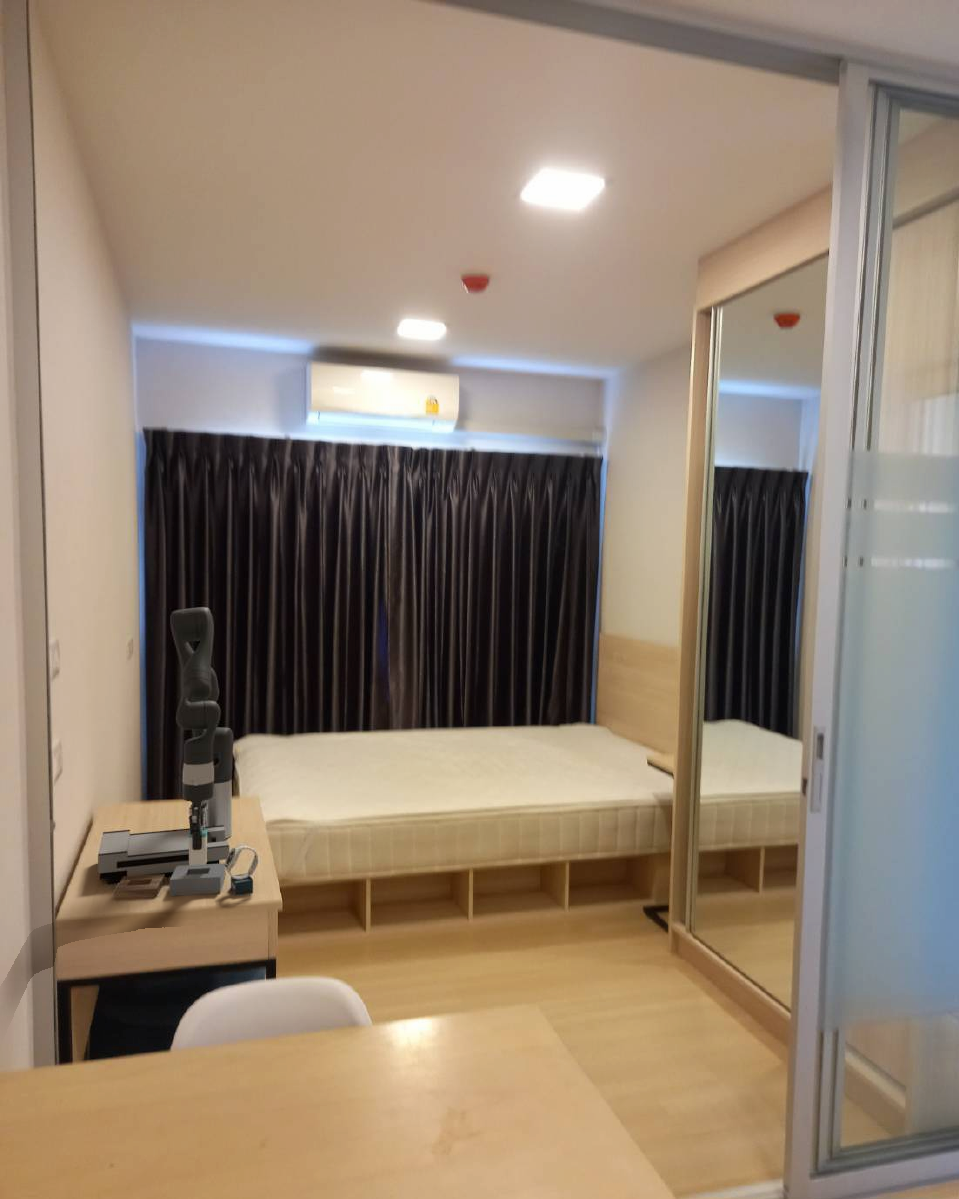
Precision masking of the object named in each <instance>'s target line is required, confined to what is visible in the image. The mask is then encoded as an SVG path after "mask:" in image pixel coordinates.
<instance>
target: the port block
mask: <svg viewBox="0 0 959 1199" xmlns="http://www.w3.org/2000/svg"><path fill="white" fill-rule="evenodd" d="M169 878H170V879H169V896H170V897H173V896H189V895H207V894H221V893H222V888H223V886H224V883H225V879H226V867H225V862H223V863H219V864H206V865H185V866H177V867H176V869H175V871H174V873H173V874H172V876H171V877H169Z"/></svg>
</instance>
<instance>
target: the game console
mask: <svg viewBox="0 0 959 1199" xmlns="http://www.w3.org/2000/svg"><path fill="white" fill-rule="evenodd" d="M204 830H207V862H206V864H220V861H223V860H225V861H226V858H227V856H228V854H229V852H230V844H229V841H228V840H226V839H225V828H224V825H219V826H208V827H205V829H204ZM189 833H190V827H189V828H178V829H177V828H176V829H168V830H160V831H159V830H157V831H156V830H155V831H145V832H137V833H135V832H134V833H131V829H122V830H113V831H103V832H102V836H101V839H100V844H99V849H98V855H97V874H99V881H100V880H107V885H116V884H119V882H120V881H121V879H122V878H123V877H124V876H141V875H159V874H165V879H167V878H168V879H169V878H171V876H172V874H173V873H174V871H175V869H176V867H177V866H185V865H189Z"/></svg>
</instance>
